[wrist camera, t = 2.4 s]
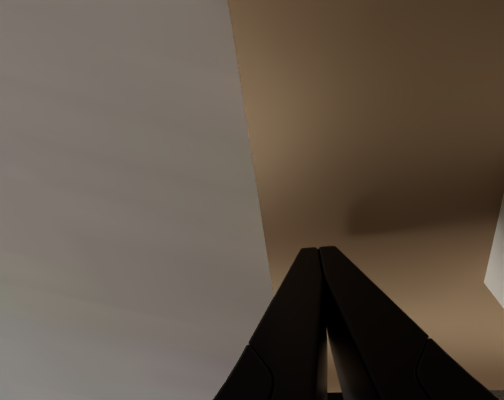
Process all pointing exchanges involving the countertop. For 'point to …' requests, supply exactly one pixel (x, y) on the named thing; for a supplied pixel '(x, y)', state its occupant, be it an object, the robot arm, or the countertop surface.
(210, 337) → the countertop surface
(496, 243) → the tile
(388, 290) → the wooden block
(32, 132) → the countertop surface
